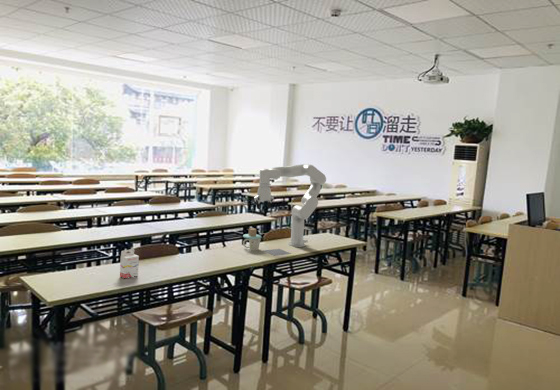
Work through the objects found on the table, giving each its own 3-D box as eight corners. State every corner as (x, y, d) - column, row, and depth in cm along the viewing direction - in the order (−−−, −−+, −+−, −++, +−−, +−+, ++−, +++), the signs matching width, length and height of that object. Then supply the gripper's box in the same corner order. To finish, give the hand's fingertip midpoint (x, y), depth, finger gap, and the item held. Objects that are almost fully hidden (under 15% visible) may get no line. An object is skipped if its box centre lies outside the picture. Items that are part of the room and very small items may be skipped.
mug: (259, 252, 318) (260, 238, 317) (241, 251, 318) (242, 237, 317) (260, 249, 326) (260, 236, 325) (243, 248, 326) (243, 235, 325)
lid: (254, 234, 330) (255, 226, 329) (264, 238, 320) (265, 230, 319) (239, 235, 322) (240, 227, 322) (249, 239, 312) (249, 231, 311)
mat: (279, 250, 329) (279, 248, 329) (291, 254, 317) (291, 253, 317) (262, 251, 320) (262, 250, 320) (274, 256, 308) (274, 255, 308)
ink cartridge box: (124, 279, 241) (125, 252, 239) (119, 277, 244) (120, 250, 242) (138, 276, 247) (139, 250, 246) (133, 274, 250) (134, 248, 249)
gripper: (271, 184, 339) (270, 206, 341) (251, 185, 328) (251, 208, 330) (276, 185, 333) (276, 208, 335) (257, 186, 322) (256, 210, 325)
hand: (263, 208), depth 333 cm, fingers open, 9 cm apart
